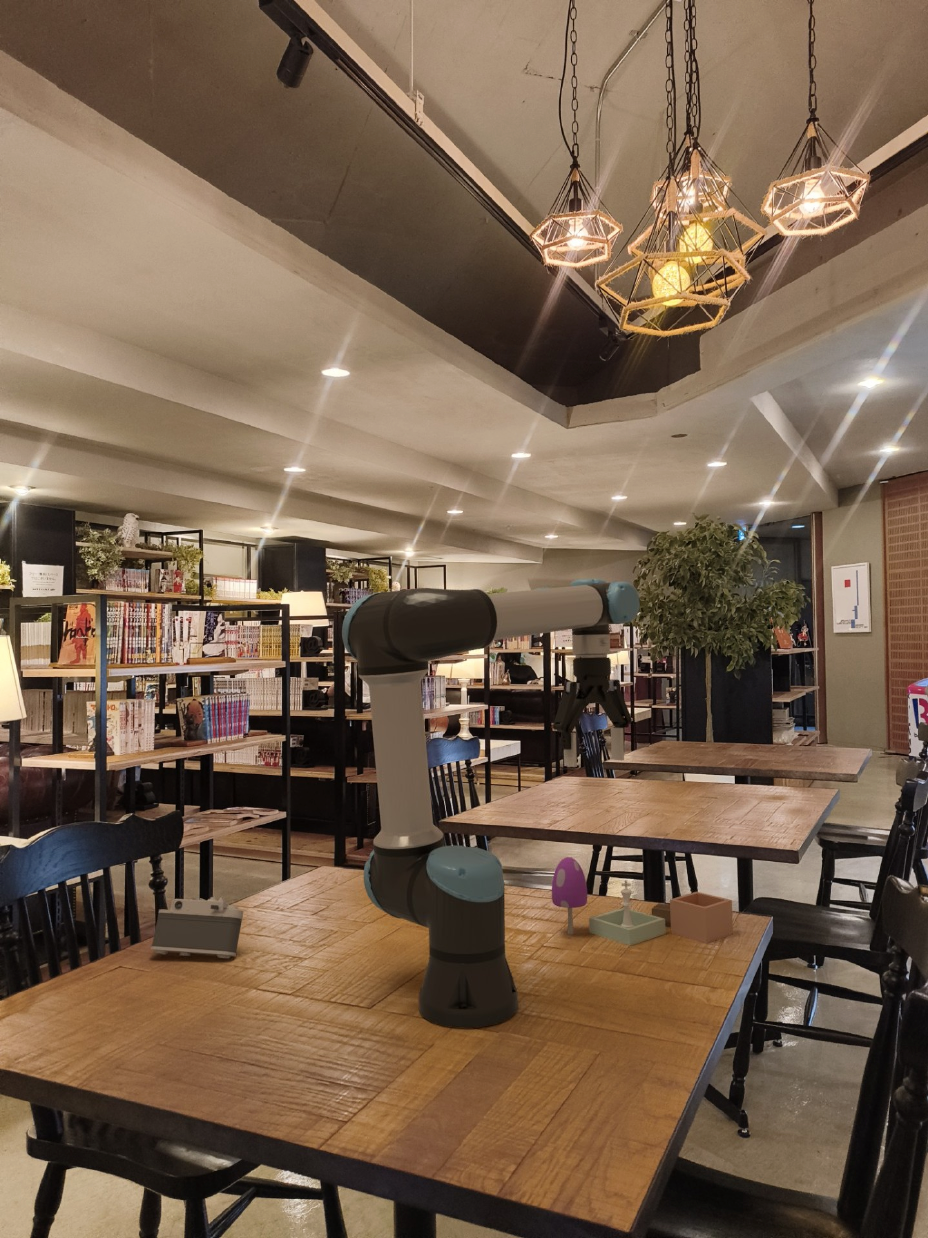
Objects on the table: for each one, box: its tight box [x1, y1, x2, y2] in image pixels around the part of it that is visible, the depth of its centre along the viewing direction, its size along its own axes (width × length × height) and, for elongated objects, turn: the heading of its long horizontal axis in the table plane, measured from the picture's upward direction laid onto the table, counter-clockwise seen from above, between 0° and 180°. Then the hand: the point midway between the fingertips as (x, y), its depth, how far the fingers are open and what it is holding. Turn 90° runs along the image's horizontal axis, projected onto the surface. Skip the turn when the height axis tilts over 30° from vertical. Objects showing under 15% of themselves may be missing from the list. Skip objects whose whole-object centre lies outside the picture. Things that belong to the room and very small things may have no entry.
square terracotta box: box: [669, 891, 734, 945], centre depth 163 cm, size 8×8×7 cm
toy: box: [551, 856, 588, 939], centre depth 165 cm, size 7×7×15 cm
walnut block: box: [651, 902, 671, 928], centre depth 170 cm, size 4×4×4 cm
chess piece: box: [620, 879, 635, 928], centre depth 165 cm, size 5×5×10 cm
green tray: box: [588, 907, 667, 946], centre depth 165 cm, size 10×10×4 cm
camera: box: [149, 896, 244, 960], centre depth 162 cm, size 9×16×10 cm, turn 83°
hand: (594, 763), depth 174 cm, fingers open, 13 cm apart
